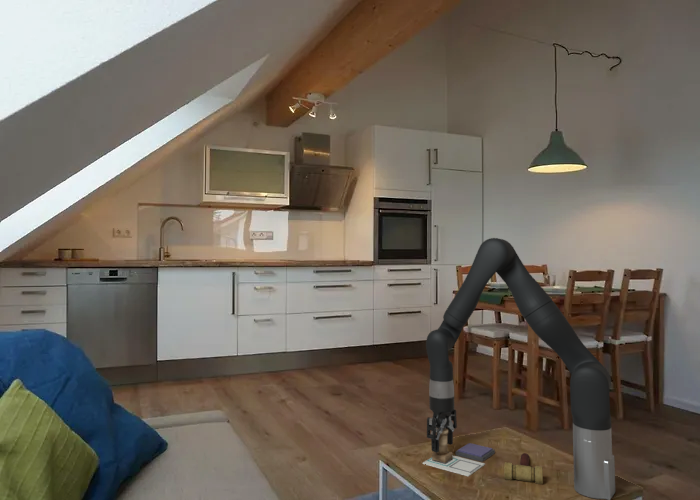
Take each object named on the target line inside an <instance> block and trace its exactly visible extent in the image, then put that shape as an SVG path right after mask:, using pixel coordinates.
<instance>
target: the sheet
mask: <svg viewBox="0 0 700 500" xmlns="http://www.w3.org/2000/svg"><path fill="white" fill-rule="evenodd" d="M452 457H453V460H451V461H450V462H448V463H447V464H443V463H439V462H435V461H432V457H430V458H429V459H426V460H424V461H423V462H422V465H425V464H426V465H425V466H429V467H433V468H436V469H440V470H443V471H447V472H451V473H455V474H457V475H462V476H465V477H470V476H471V475H473V474H474V473H475V472H477V471H478V470H480V469H481V468H483V467H484V466H485V465H486V463H484V462H481V461H477V460H473V459H469V458H465V457H461V456H457V455H453V454H452Z"/></svg>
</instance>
